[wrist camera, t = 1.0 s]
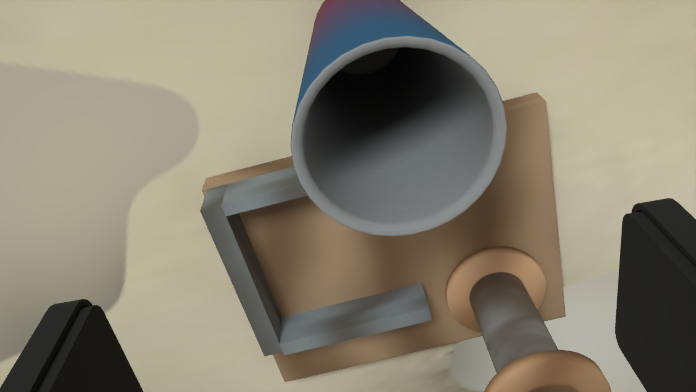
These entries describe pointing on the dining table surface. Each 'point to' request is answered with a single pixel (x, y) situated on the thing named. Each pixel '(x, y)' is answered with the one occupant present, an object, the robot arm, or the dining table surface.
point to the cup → (393, 120)
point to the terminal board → (405, 271)
